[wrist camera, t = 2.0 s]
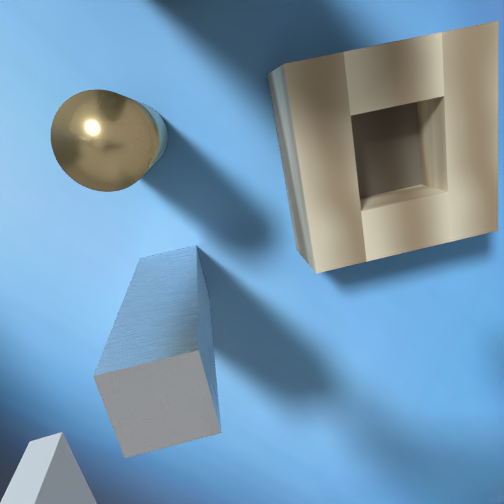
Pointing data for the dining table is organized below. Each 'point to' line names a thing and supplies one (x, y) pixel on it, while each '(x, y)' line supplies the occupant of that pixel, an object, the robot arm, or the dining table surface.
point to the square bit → (161, 357)
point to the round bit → (107, 139)
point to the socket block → (390, 145)
